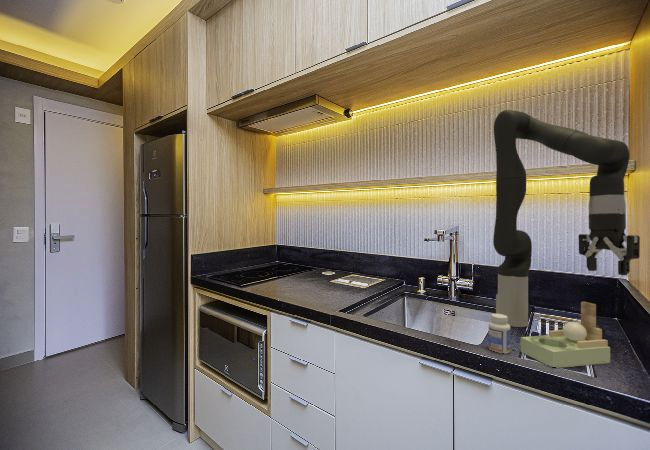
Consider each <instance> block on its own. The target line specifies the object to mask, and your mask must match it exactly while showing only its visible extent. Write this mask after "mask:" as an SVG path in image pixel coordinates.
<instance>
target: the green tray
mask: <svg viewBox="0 0 650 450" xmlns="http://www.w3.org/2000/svg"><path fill="white" fill-rule="evenodd" d="M608 342H609V340H607V339H603V338H602V340H587V339H584V340H583V341H577V342H574V341H571V340H569V339H568V338H567V337H566V336H565V335H564V333H563V329H553V330H548V334H546V335H536V336H535V335H534V336H521V337H520V353H522V354H524V355H526V356H528V357H531V358H532V359H534V360H536V361H538V362H540V363H542V364H544V365H546V366H548V365H549V366H548V367H550V366H552V367H556V368H555V369H559V368H560V369H562V368H571V367H583V366H592V365H600V364H601V365H603V364H611V346H608V345H609V343H608ZM552 367H551V368H552Z"/></svg>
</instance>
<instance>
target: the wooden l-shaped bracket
mask: <svg viewBox="0 0 650 450" xmlns="http://www.w3.org/2000/svg"><path fill="white" fill-rule="evenodd" d="M575 322H576V321H575ZM576 323H579V324H581V325H582V326H583V327H584V328H585V329H586V331H587V336H586V338H585V339H587V340H602V339H603V329H602V328H600V327H597V304H596V303H592V302H587V301H581V302H580V321H577V322H576Z"/></svg>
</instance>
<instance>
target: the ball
mask: <svg viewBox="0 0 650 450" xmlns="http://www.w3.org/2000/svg"><path fill="white" fill-rule="evenodd" d="M562 330H563V333H564V335H565V336H566V337H567V338H568V339H569V340H571V341H574V342H577V341H583V340H584V339H585V338H586V336H587V331H586V329H585V328H584V327H583V326H582V325H581V324H579V323H576V321H569V322H567V323H566V324H565V323H564V325H563V327H562Z"/></svg>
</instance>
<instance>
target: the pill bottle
mask: <svg viewBox="0 0 650 450" xmlns="http://www.w3.org/2000/svg"><path fill="white" fill-rule="evenodd" d="M490 319H491V321H490V322H488V349H489V350H490V351H491V350H492V351H491V352H493V351H495V352H494V353H496V352H498V353H497V354H502V353H504V354H509V353H510V352H511V350H512V347H511V345H512V343H511V340H512V339H511V337H512V335H511V331H512V330H511V326H510V325H509V324H507V322H508V317H507V316H506V315H502V314H496V313H491V316H490Z"/></svg>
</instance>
